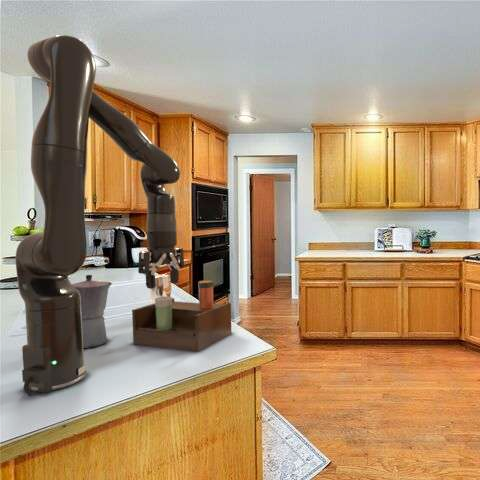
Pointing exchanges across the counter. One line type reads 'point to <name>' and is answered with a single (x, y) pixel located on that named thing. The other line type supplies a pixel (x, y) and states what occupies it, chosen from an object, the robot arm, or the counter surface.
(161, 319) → the cylinder
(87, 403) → the counter surface
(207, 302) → the pepper shaker
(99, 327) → the moka pot
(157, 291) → the beer glass
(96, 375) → the counter surface
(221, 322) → the spice rack
